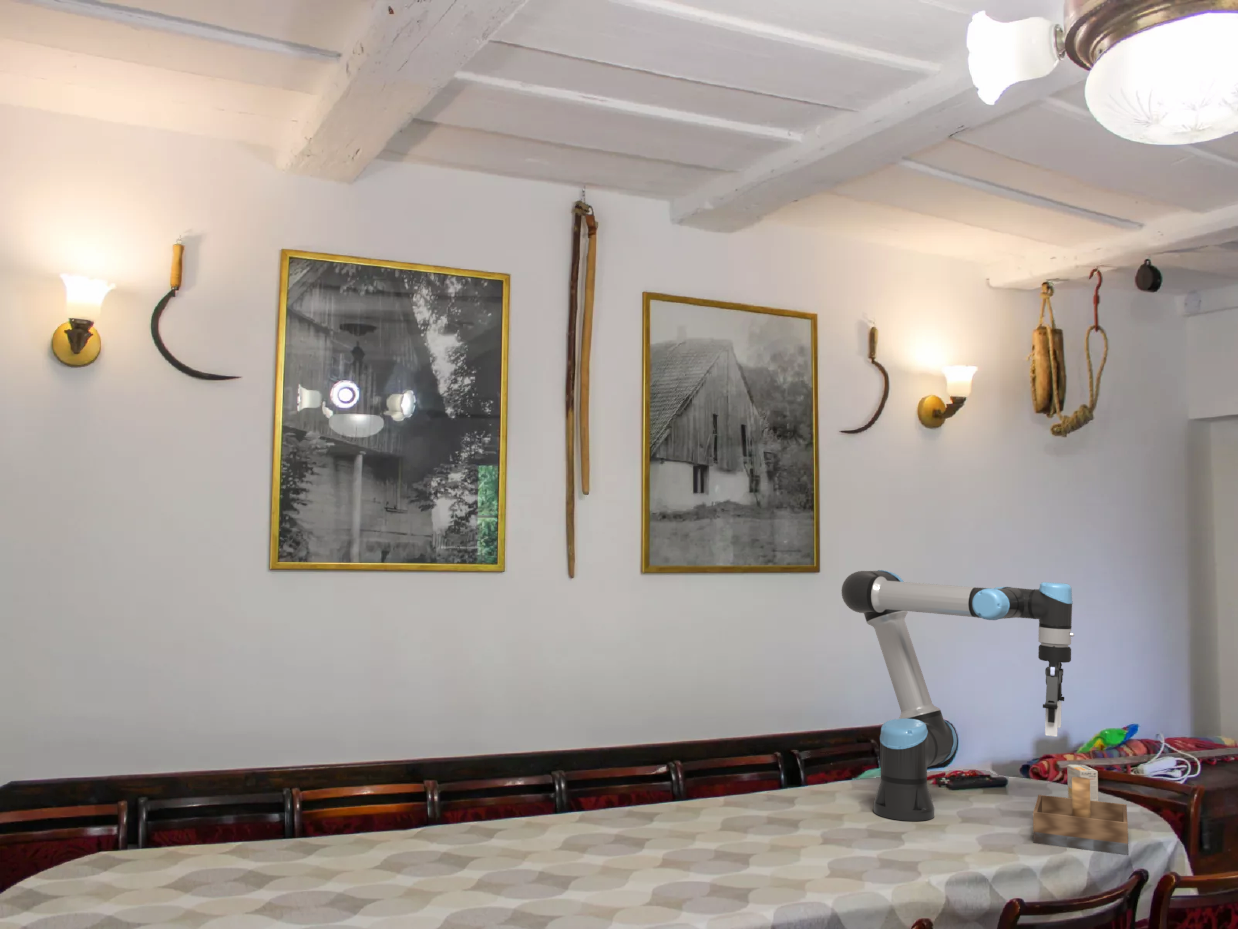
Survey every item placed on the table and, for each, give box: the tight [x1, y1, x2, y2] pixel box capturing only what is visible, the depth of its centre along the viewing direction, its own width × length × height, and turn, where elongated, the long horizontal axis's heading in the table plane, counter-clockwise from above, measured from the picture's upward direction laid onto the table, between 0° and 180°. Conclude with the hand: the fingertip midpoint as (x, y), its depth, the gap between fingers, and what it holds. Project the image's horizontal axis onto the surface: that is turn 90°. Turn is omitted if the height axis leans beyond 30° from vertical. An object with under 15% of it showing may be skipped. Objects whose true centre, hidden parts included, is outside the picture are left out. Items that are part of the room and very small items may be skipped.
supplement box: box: [1066, 764, 1099, 801], centre depth 268 cm, size 8×5×13 cm, turn 179°
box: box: [1032, 794, 1129, 856], centre depth 249 cm, size 20×20×7 cm
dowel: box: [1072, 777, 1091, 818], centre depth 250 cm, size 4×4×14 cm
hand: (1053, 731), depth 258 cm, fingers open, 13 cm apart
